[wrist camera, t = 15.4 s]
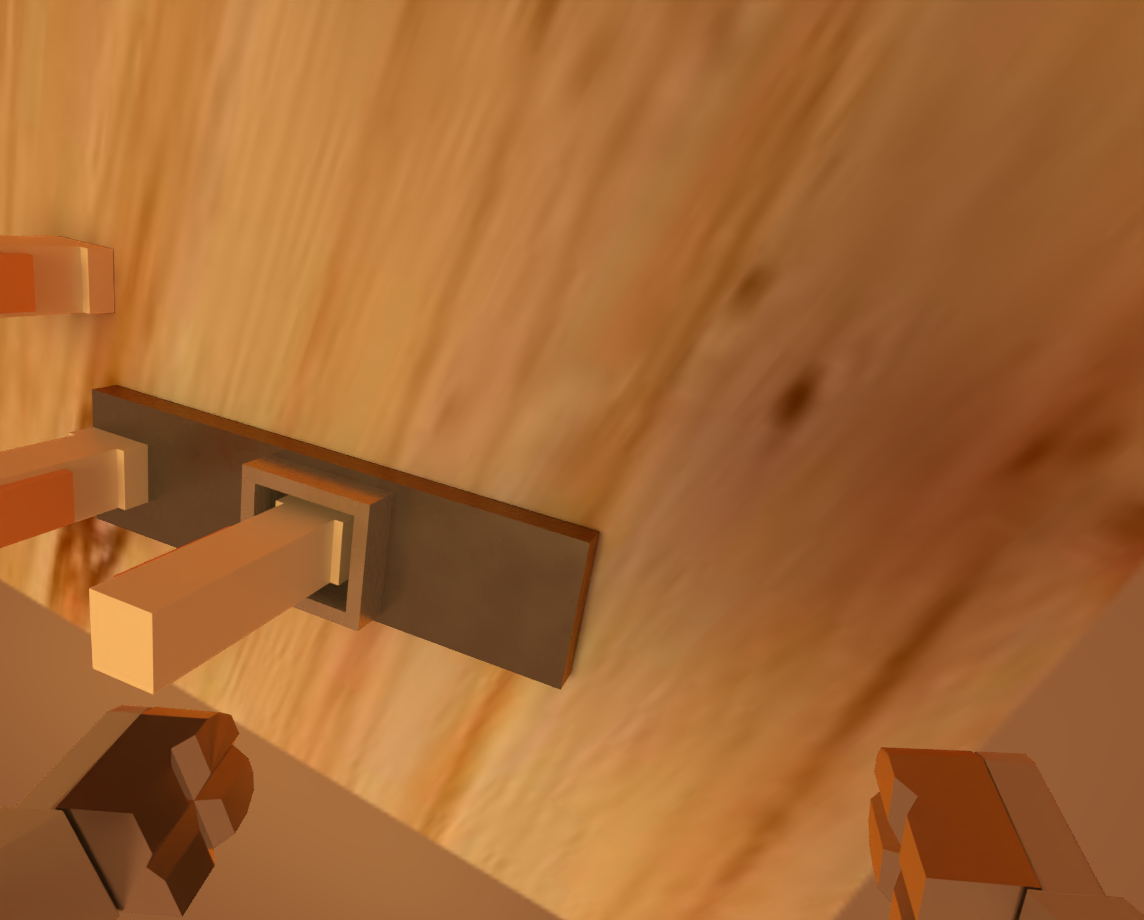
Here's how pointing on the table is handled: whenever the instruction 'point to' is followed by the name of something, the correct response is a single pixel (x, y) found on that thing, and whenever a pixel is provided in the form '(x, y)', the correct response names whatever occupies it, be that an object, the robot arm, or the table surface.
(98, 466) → the post
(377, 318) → the table surface
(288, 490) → the rail
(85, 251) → the white orange block
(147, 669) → the beige tall square block
